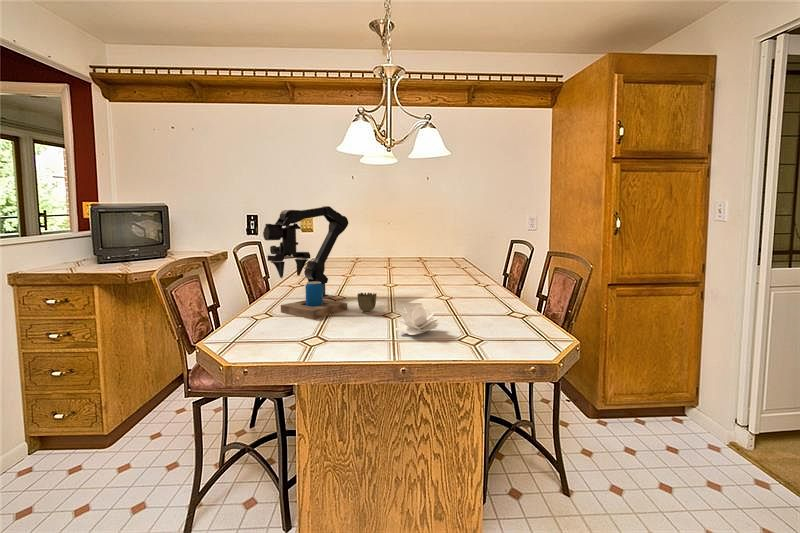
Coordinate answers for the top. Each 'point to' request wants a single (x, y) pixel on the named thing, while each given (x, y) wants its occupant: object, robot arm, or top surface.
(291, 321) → the top surface
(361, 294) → the cup
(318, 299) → the beverage can
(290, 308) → the can holder
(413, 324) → the lotus flower
